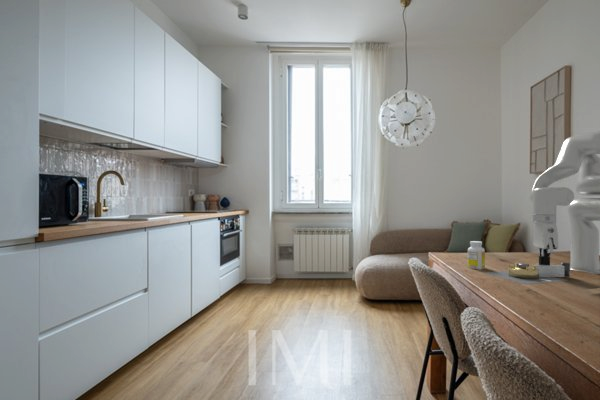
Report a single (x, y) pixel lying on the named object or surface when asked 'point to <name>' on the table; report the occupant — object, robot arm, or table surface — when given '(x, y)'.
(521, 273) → the multicoloured piece
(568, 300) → the table surface
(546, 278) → the base plate
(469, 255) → the supplement bottle
